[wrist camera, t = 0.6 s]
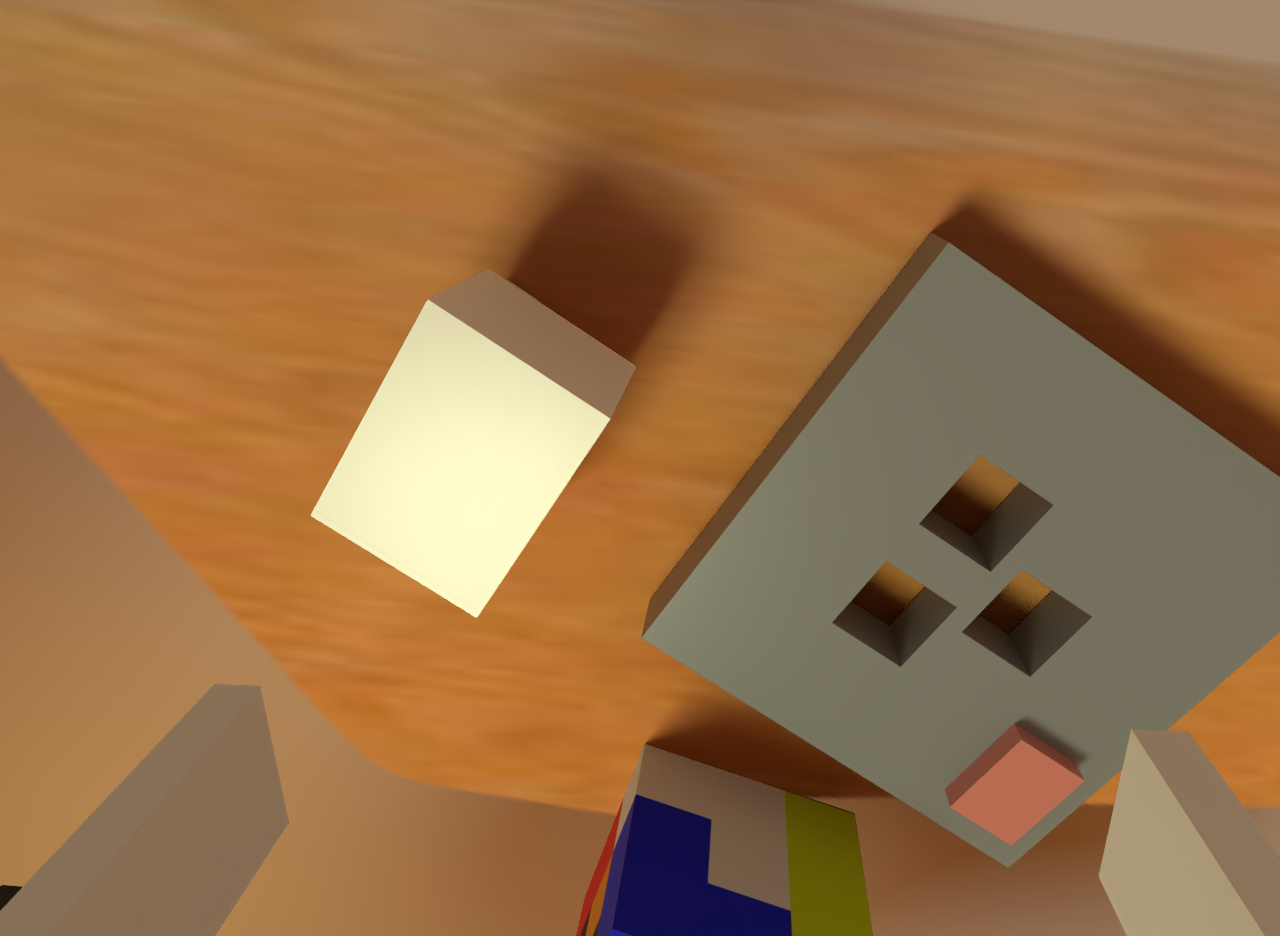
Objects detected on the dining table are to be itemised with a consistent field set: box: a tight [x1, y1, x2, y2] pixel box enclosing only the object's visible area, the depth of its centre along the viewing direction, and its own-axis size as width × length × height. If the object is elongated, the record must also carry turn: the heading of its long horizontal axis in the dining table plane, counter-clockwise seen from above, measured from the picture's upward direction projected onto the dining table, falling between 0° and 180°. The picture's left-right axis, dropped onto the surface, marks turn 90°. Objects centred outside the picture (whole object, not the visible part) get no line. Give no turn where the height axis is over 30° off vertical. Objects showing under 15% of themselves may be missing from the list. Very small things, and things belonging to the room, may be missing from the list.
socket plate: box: [641, 233, 1280, 868], centre depth 33 cm, size 18×18×4 cm
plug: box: [311, 269, 637, 618], centre depth 30 cm, size 6×8×9 cm
